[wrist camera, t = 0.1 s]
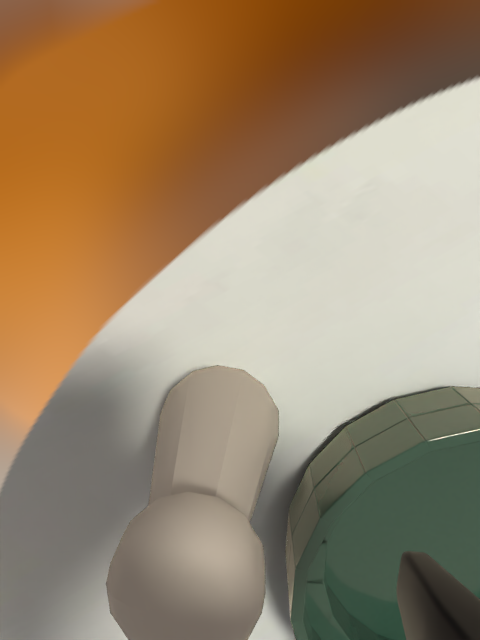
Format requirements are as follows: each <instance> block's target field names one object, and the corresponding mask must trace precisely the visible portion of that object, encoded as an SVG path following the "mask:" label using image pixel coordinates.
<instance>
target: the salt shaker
mask: <svg viewBox="0 0 480 640" xmlns="http://www.w3.org/2000/svg"><path fill="white" fill-rule="evenodd" d="M278 436H279V410H278V408H277V407H276V405H275V403H274V402H273V400H272V398H271V396H270V395H269V393H268V391H267V390H266V388H265V386H264V385H263V384H262V383H260V382H259V381H258V380H256V379H255V378H254V377H252V376H251V375H250V374H248V373H247V372H246V371H244V370H242V369H236V368H230V367H224V366H218V365H217V366H213V367H208V368H204V369H200V370H195V371H192V372H191V373H190V374H189V375H187V376H186V377H185V378H184V379H183V380H182V381H181V382H179V383H178V384H177V385H176V386H175V387H174V388H172V389H171V390H170V392H169V394H168V397H167V399H166V402H165V404H164V406H163V409H162V411H161V413H160V421H159V429H158V436H157V444H156V451H155V459H154V467H153V474H152V482H151V490H150V497H149V505H148V507H147V508H145V509H144V510H143V511H142V512H141V513H139V514H138V515H137V516H136V517H134V518H133V519H132V520H131V521H130V523H129V525H128V526H127V528H126V530H125V532H124V534H123V536H122V538H121V540H120V543H119V545H118V547H117V550H116V552H115V554H114V556H113V559H112V561H111V563H110V567H109V572H108V577H107V582H106V586H107V593H108V600H109V607H110V613H111V615H112V616H113V617H114V619H115V620H116V622H117V623H118V625H119V626H120V628H121V629H122V631H123V632H124V634H125V635H126V637H127V638H128V639H129V640H247V639H248V638H249V636H250V634H251V632H252V630H253V629H254V627H255V625H256V623H257V621H258V619H259V617H260V615H261V613H262V608H263V603H264V598H265V560H264V551H263V545H262V543H261V541H260V539H259V538H258V536H257V534H256V533H255V531H254V530H253V528H252V526H251V525H250V520H251V517H252V514H253V511H254V508H255V505H256V502H257V499H258V496H259V493H260V490H261V487H262V484H263V481H264V478H265V475H266V472H267V469H268V466H269V463H270V460H271V457H272V454H273V451H274V448H275V445H276V442H277V439H278Z"/></svg>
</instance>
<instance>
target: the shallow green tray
mask: <svg viewBox="0 0 480 640" xmlns="http://www.w3.org/2000/svg"><path fill="white" fill-rule="evenodd" d="M405 551H412V552H423V553H426V554H428V555H429V556H430V557H431V558H433V559H434V560H435V561H436V562H437V563H438V564H439V565H441V566H442V567H443V568H444V569H445V570H446V571H448V572H449V573H450V574H451V575H452V576H453V577H455V578H456V579H457V580H458V581H459V582H460V583H461V584H463V585H464V586H465V587H466V588H467V589H468V590H470V591H471V592H472V593H473V594H474V595H475V596H477V597H478V598H479V599H480V388H470V387H454V386H451V387H447V388H443V389H438V390H434V391H429V392H425V393H421V394H416V395H412V396H407V397H403V398H399V399H395V400H392V401H390V402H388V403H387V404H385V405H383V406H381V407H379V408H378V409H376V410H374V411H372V412H370V413H369V414H367V415H365V416H363V417H361V418H360V419H358V420H356V421H354V422H353V423H351V424H349V425H347V426H346V427H344V428H343V430H342V431H341V432H340V433H339V434H338V435H337V436H336V437H335V438H334V439H333V440H332V441H331V442H330V443H329V444H328V445H327V446H326V447H325V448H324V449H323V450H322V451H321V453H320V454H319V455H318V456H317V457H316V458H315V459H314V460H313V461H312V462H311V463H310V465H309V466H308V468H307V470H306V472H305V474H304V477H303V479H302V481H301V483H300V485H299V487H298V489H297V492H296V494H295V496H294V498H293V500H292V502H291V504H290V507H289V513H288V525H287V537H286V549H285V555H286V568H287V580H288V595H289V608H290V620H291V624H292V628H293V631H294V634H295V638H296V640H406V636H405V631H404V627H403V623H402V618H401V614H400V610H399V605H398V601H397V581H398V575H399V568H400V562H401V556H402V554H403V553H404V552H405Z"/></svg>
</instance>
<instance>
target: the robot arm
mask: <svg viewBox="0 0 480 640" xmlns="http://www.w3.org/2000/svg"><path fill="white" fill-rule="evenodd" d="M397 601H398V605H399V610H400V614H401V618H402V623H403V627H404V631H405V636H406V640H480V599H479V598H478V597H477V596H475V595H474V594H473V593H472V592H471V591H470V590H468V589H467V588H466V587H465V586H464V585H463V584H461V583H460V582H459V581H458V580H457V579H456V578H455V577H453V576H452V575H451V574H450V573H449V572H448V571H446V570H445V569H444V568H443V567H442V566H441V565H439V564H438V563H437V562H436V561H435V560H434V559H433V558H431V557H430V556H429V555H428V554H426V553H423V552H412V551H405V552H404V553H403V554H402V556H401V562H400V568H399V575H398V581H397Z"/></svg>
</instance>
